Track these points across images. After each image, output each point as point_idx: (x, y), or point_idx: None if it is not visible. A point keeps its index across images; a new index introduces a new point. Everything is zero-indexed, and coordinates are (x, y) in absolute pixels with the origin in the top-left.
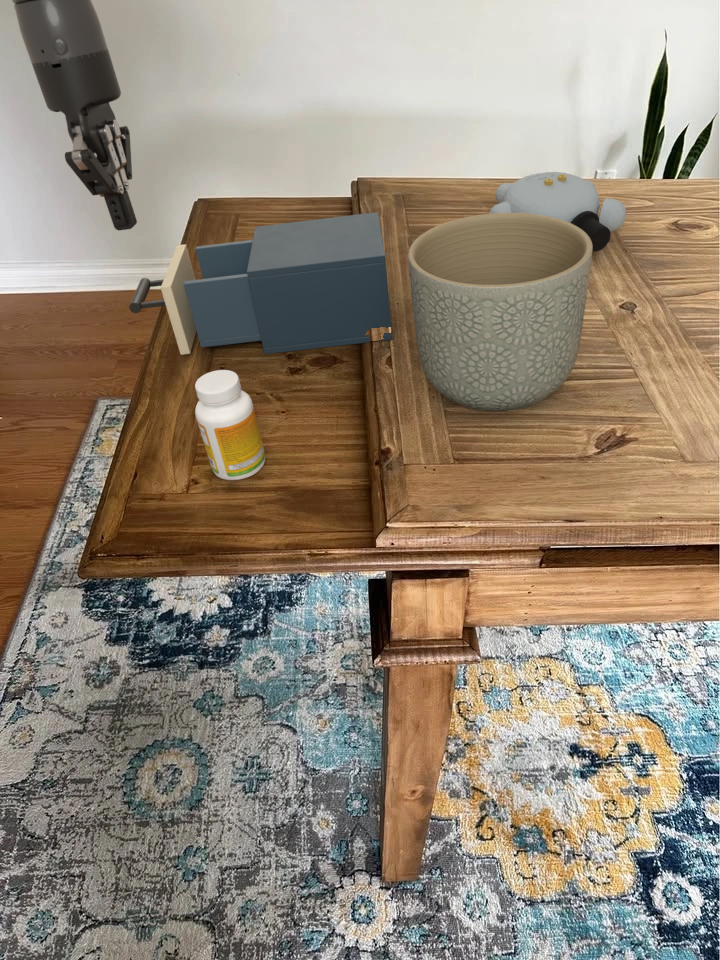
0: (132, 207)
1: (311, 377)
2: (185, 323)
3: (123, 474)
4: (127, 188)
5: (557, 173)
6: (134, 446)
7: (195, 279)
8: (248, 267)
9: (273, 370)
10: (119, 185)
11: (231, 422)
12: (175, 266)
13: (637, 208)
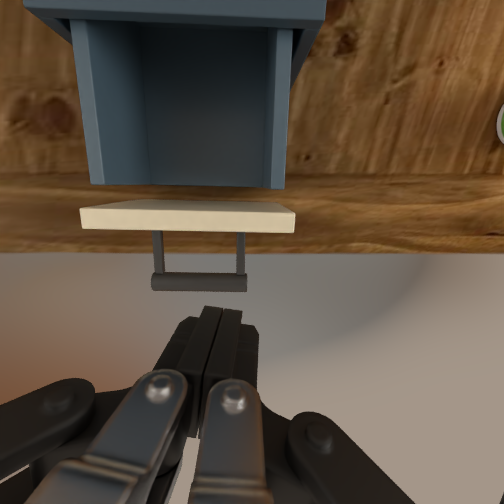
0: (194, 329)
1: (371, 18)
2: (260, 204)
3: (484, 247)
4: (169, 373)
5: None
6: (440, 244)
7: (119, 202)
8: (300, 15)
9: (334, 80)
10: (244, 413)
11: None
12: (199, 216)
13: None
